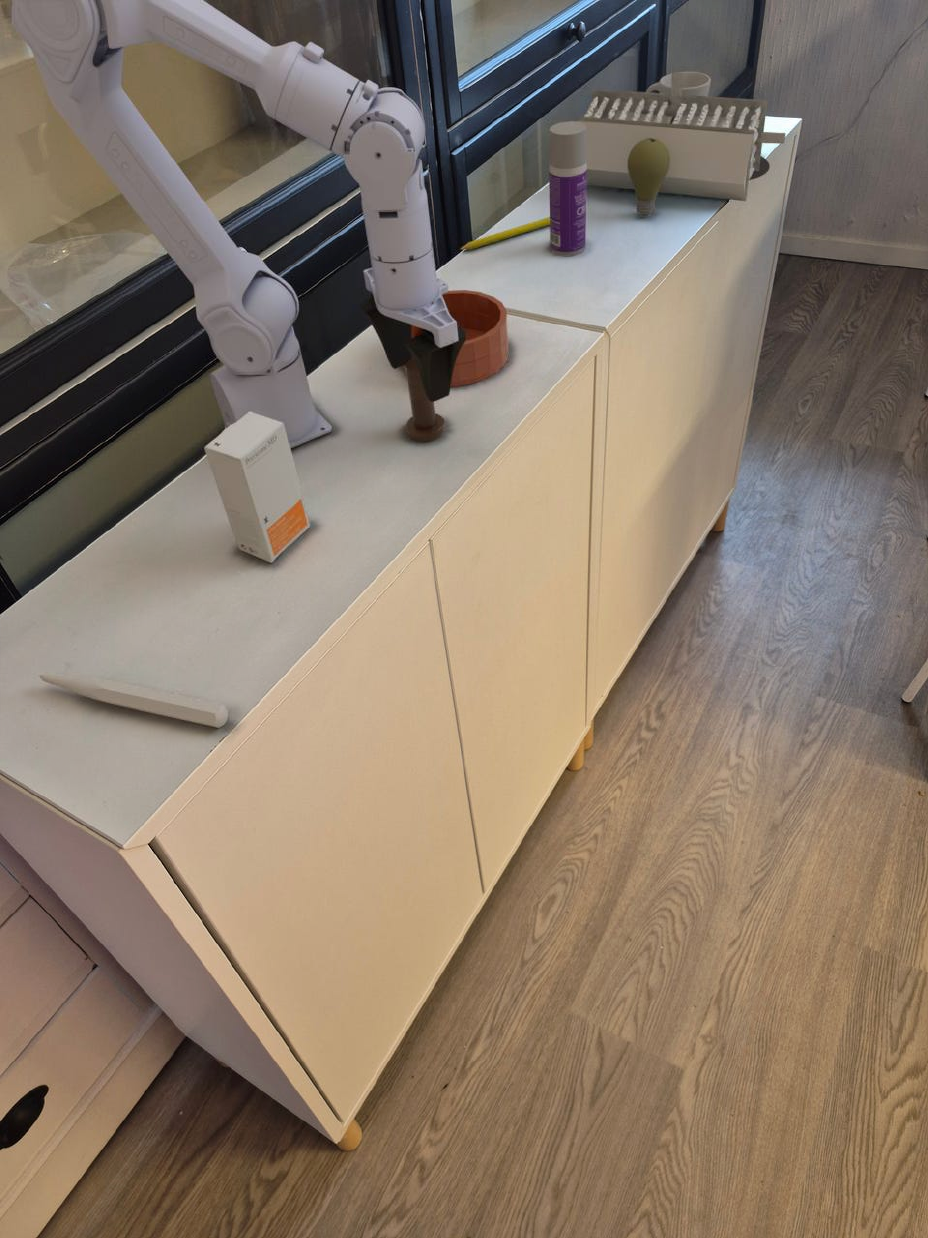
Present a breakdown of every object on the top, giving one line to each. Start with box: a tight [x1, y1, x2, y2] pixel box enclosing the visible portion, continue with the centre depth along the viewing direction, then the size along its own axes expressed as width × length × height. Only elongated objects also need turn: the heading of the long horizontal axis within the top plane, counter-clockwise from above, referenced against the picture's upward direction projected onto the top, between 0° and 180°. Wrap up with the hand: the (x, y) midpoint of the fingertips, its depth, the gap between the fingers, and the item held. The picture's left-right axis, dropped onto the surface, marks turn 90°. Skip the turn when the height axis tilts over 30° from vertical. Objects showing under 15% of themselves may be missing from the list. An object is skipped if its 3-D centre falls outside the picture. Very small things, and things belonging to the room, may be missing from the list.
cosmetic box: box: [203, 412, 311, 564], centre depth 81 cm, size 6×4×12 cm
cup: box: [645, 71, 712, 96], centre depth 139 cm, size 8×10×8 cm
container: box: [548, 120, 587, 257], centre depth 115 cm, size 5×5×15 cm
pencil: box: [460, 216, 550, 251], centre depth 124 cm, size 16×1×1 cm
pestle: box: [405, 358, 446, 443], centre depth 92 cm, size 4×4×8 cm
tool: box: [38, 672, 229, 729], centre depth 72 cm, size 17×2×2 cm
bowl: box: [402, 289, 510, 388], centre depth 103 cm, size 12×12×5 cm
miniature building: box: [575, 72, 787, 202], centre depth 124 cm, size 13×27×10 cm
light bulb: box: [628, 138, 670, 218], centre depth 122 cm, size 6×6×10 cm
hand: (419, 380), depth 91 cm, fingers open, 7 cm apart
